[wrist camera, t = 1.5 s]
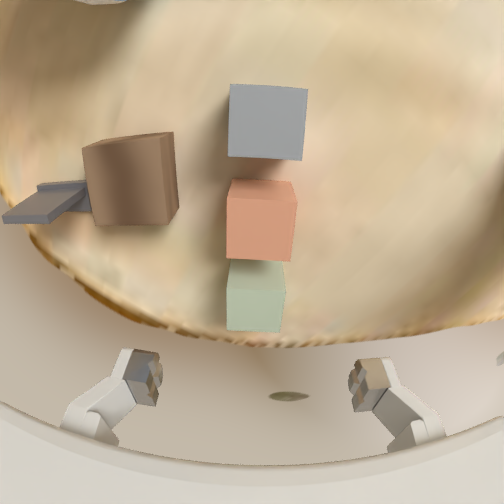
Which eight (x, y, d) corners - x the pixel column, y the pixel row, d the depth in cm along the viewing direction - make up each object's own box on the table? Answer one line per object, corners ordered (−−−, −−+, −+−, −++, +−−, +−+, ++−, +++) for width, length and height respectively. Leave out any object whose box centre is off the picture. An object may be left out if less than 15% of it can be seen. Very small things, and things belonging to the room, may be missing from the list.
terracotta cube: (290, 181, 25) (297, 201, 21) (285, 232, 27) (290, 261, 23) (232, 178, 25) (226, 197, 20) (231, 229, 27) (226, 258, 23)
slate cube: (298, 90, 21) (308, 89, 16) (293, 148, 23) (301, 160, 19) (235, 86, 21) (230, 84, 16) (233, 144, 23) (227, 156, 19)
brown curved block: (174, 131, 23) (159, 138, 19) (179, 206, 26) (168, 224, 23) (103, 139, 23) (81, 148, 19) (113, 208, 26) (95, 225, 23)
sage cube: (282, 260, 29) (285, 291, 25) (277, 299, 31) (279, 332, 27) (231, 257, 29) (226, 288, 25) (230, 296, 31) (226, 330, 27)
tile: (90, 179, 25) (48, 208, 18) (94, 207, 26) (56, 242, 20) (41, 183, 25) (-2, 210, 18) (46, 208, 26) (6, 240, 20)
